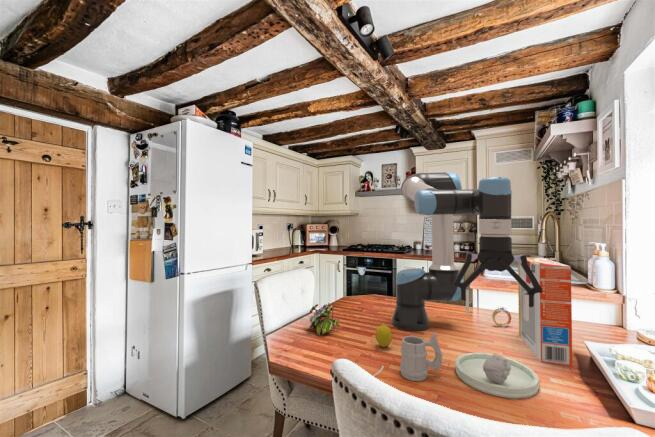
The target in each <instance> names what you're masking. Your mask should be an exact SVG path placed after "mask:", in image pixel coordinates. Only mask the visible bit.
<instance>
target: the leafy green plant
mask: <svg viewBox="0 0 655 437" xmlns="http://www.w3.org/2000/svg"><path fill="white" fill-rule="evenodd" d="M318 306H319V304H318V303H317V304H315V305H314V306H312V307H311V308H310V310H309V313H312V312H313V311H315V312H314V314H313V315H312V316H311V317H310V318H309V322H310V325H309V329H310V328H312V329H316V334H317V335H318V336H319V337H320V335H321V334H322V335H325V334H326V333H329V332H331V330H332V329H333V331H334V332H335V331H336V329H335V326H337V327H340V324H339V323H338V318H335V319H334V311H335V310H334V307H333V305H331V303H330V302H328V303H325V304H324V305H323V306H321V307H320V308H319V309H316V308H317V307H318ZM331 313H332V315H331ZM330 315H331V318H330Z"/></svg>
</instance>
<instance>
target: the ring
mask: <svg viewBox="0 0 655 437" xmlns="http://www.w3.org/2000/svg"><path fill="white" fill-rule="evenodd" d="M501 312H504V313H506V315H507V317H508V320H507V322H505V323H498V322H497V321H496V315H497V314H499V313H501ZM491 318H492V321H493V322H494V324H495V325H496V326H499V327H501V328H504V327H506V326H508V325H509V324H511V322H512V315H511V313H510V312H509V311H508V310H507V308H505V307H503V306H502V307H500V306H499V307H497V308H495V309H494V310H493V312H492V314H491Z"/></svg>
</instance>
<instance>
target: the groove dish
mask: <svg viewBox="0 0 655 437" xmlns="http://www.w3.org/2000/svg"><path fill="white" fill-rule="evenodd" d="M491 356H493V353H487V352H468V353H464V354H460V355H459V356H458V357H457V358H455V373H456V376H457V377H458V378H459V379H460V380H461V381H462V382H464V383H465V384H466V385H468V386H469V387H471V388H474V389H476V390H478V391H479V392H483V393H485V394H488V395H491V396H495V397H496V396H497V397H500V398H505V399H515V400H516V399H518V400H519V399H527V398H531V397H533V396H535V395H537V394H538V392H539V385H540V379H539V377H538V374H537V372H535V371H534V370H533V369H531V368H530V367H529V366H528V365H526V364H524V363H521V362H520V361H517V360H515V359H513V358H509V357H506V356H503V357H504V358H506V359H507V360H508V361H509V363H510V366H511V370H510V372H509V375H508V376H507V379H506V380H505V381H504V382H503V383H501V384H496V383H493V382H491V381H490V380H489V379H488V378H487V376H486V374H485V372H484V371H483V365H484V362H485V361H486V360H487V359H488V358H490V357H491Z"/></svg>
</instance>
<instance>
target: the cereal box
mask: <svg viewBox="0 0 655 437" xmlns="http://www.w3.org/2000/svg"><path fill="white" fill-rule="evenodd" d="M526 257H527V256H526ZM527 264H528V266H529V268H530V269H531V271H532V273H533V274H534V276H535V278H536V279H537V281H538V283H539V285H540V286H541V288H542V290H543V292H542V293H536V294H534V306H533V307H529V321H526V320H525V319H524V317H523V292H525V293H527V291H526V290H525V289H524V288H523V287H522V286H521V285H520V284H519V283H518V282H517V284H518V288H517V289H518V336H519V337H520V338H521V339H522V341H523V342H524V343H525V345H527V347H528V348H529V349H530V350H531V352H532V353H533V355H534V356H536V358H537V360H539V362H540V363H544V364H545V363H547V364H553V365H554V364H555V365H561V366H563V365H564V366H570V367H572V366H573V326H572V325H573V321H572V320H573V318H572V317H573V316H572V313H573V312H572V311H573V310H572V308H573V307H572V266H571V265H568V264H564V263H560V262H558V261H554V260H551V259H548V258H544V257H532V256H531V257H527ZM517 274H518V275H519V276H520V277H521V278H522V279H523V281H524V282H525V283H526V284H527V285H528V286H529V287H530V288H533V285H532V283H531V282H530V280H529V278H528V276H527V275H526V273H525V271H524V270H523V268H522V266H521V264H519V263H517Z"/></svg>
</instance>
